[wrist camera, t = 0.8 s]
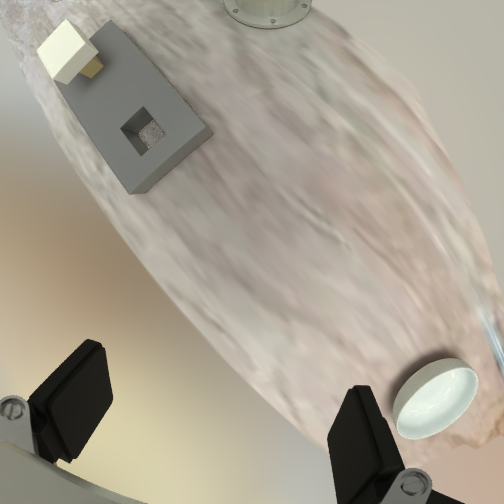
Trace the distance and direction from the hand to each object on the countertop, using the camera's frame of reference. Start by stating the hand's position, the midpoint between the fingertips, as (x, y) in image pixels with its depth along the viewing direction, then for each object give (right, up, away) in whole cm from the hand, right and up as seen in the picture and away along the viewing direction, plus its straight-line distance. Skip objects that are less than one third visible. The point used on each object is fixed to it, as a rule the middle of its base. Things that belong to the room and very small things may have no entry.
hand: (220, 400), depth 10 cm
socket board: (-16, +26, +25) cm, 39 cm away
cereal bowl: (+33, -19, +32) cm, 50 cm away
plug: (-20, +30, +19) cm, 41 cm away
